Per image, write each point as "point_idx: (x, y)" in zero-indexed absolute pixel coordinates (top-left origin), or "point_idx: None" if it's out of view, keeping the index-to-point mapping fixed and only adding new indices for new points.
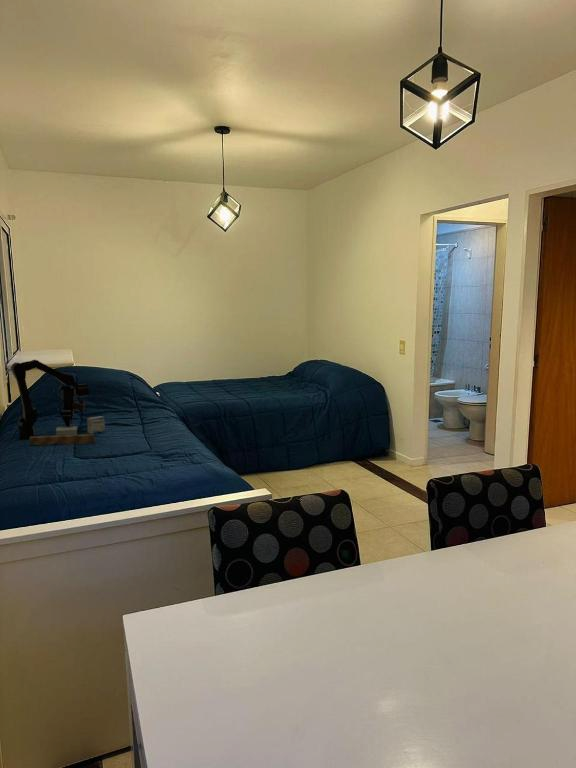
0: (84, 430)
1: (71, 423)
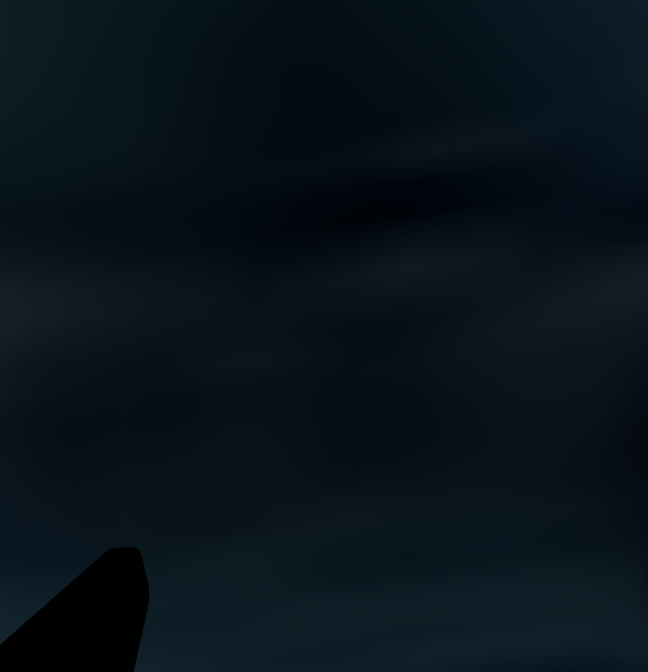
0: (133, 37)
1: (110, 550)
